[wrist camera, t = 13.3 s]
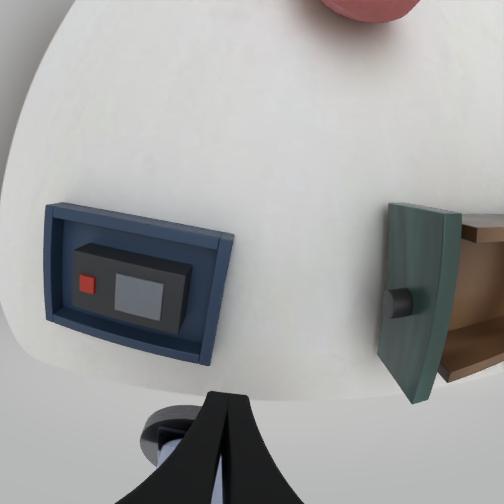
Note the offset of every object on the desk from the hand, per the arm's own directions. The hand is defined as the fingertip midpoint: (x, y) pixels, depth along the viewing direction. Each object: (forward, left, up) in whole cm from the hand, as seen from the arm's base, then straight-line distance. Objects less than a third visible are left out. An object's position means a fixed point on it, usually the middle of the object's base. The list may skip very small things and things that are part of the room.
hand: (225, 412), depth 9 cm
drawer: (+6, -17, -9) cm, 20 cm away
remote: (+1, +6, -9) cm, 11 cm away
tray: (+1, +7, -9) cm, 12 cm away
